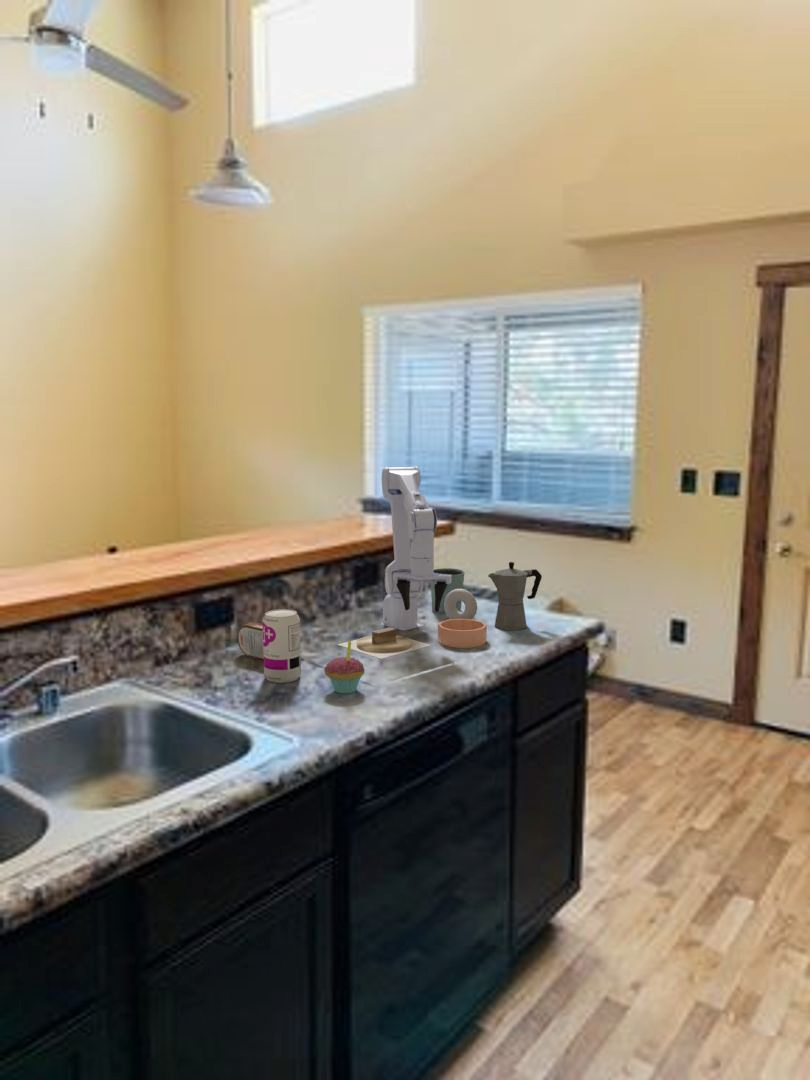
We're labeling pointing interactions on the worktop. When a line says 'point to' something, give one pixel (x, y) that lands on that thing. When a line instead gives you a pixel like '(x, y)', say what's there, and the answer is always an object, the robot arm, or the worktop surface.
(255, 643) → the tin
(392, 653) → the mat
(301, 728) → the worktop surface
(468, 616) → the donut
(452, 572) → the teal cup
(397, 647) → the lid
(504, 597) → the coffeepot
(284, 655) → the supplement can
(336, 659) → the cupcake
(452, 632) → the bowl
